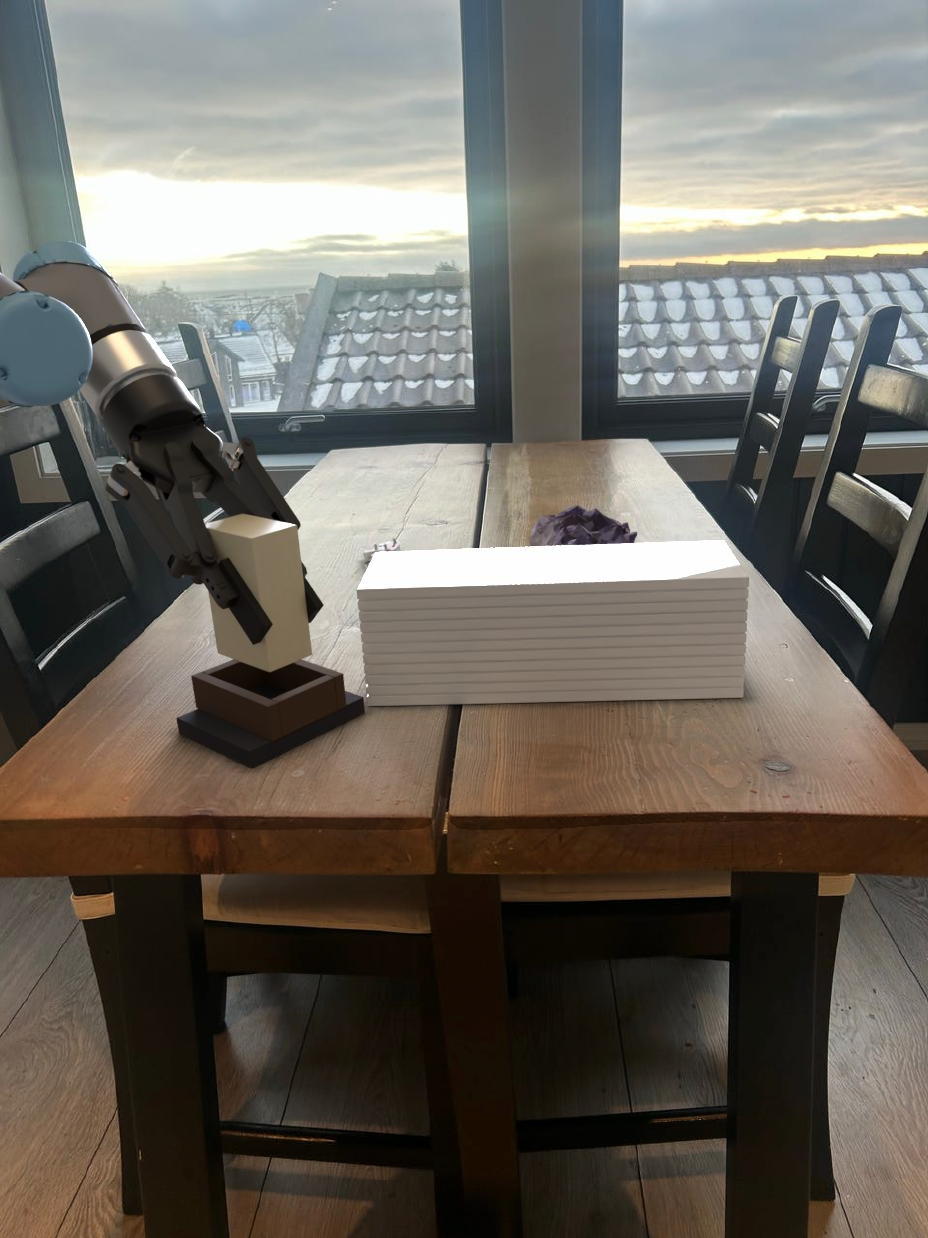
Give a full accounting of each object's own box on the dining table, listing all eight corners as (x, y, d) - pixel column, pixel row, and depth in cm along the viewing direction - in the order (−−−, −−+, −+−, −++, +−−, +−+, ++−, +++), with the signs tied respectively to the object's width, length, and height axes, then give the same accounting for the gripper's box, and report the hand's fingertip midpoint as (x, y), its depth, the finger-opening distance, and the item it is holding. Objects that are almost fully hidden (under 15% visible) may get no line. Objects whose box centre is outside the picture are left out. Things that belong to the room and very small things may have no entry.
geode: (678, 618, 103) (669, 527, 99) (570, 644, 102) (556, 553, 98) (618, 556, 121) (608, 477, 117) (526, 577, 120) (513, 498, 116)
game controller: (362, 556, 130) (360, 536, 129) (449, 547, 132) (448, 528, 131) (366, 568, 124) (364, 548, 123) (457, 559, 126) (456, 539, 125)
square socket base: (253, 769, 77) (245, 716, 76) (177, 733, 84) (169, 684, 82) (366, 713, 85) (362, 665, 84) (289, 684, 92) (284, 639, 90)
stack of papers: (367, 706, 87) (356, 589, 83) (384, 658, 97) (374, 552, 93) (743, 698, 84) (749, 576, 81) (720, 650, 94) (724, 539, 90)
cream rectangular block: (269, 672, 79) (251, 538, 75) (217, 653, 83) (197, 525, 79) (312, 654, 82) (297, 524, 78) (259, 637, 86) (242, 513, 82)
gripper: (213, 414, 92) (351, 617, 87) (31, 448, 80) (180, 685, 75) (240, 357, 87) (388, 569, 82) (50, 384, 75) (211, 634, 70)
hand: (288, 624), depth 79 cm, fingers closed on cream rectangular block, 4 cm apart
